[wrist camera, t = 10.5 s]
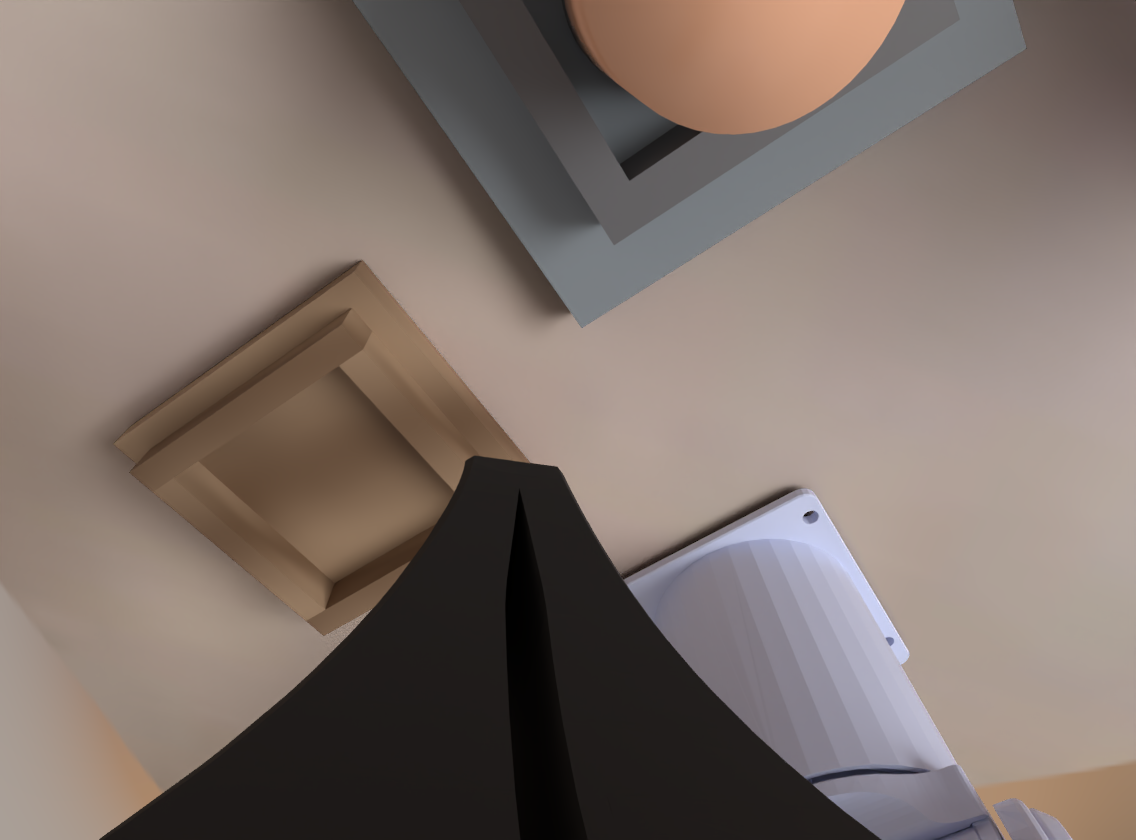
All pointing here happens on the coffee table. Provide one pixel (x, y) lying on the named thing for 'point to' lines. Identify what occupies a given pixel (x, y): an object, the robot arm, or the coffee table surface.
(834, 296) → the coffee table surface
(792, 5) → the peg
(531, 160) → the socket board
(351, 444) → the holder
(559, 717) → the robot arm
